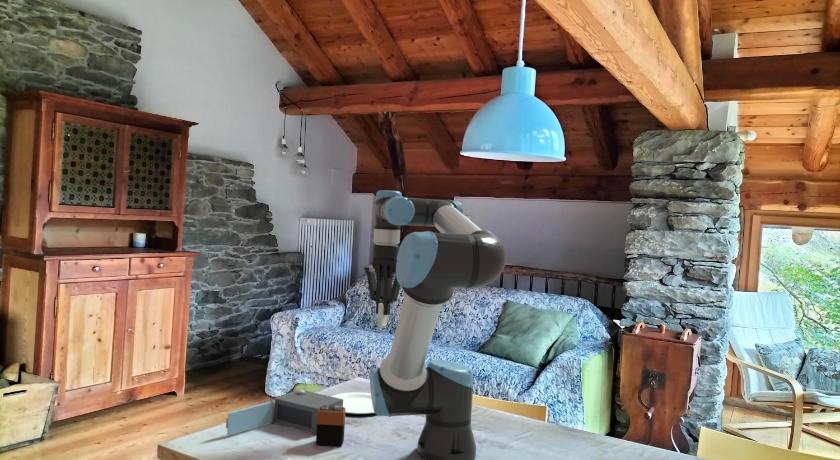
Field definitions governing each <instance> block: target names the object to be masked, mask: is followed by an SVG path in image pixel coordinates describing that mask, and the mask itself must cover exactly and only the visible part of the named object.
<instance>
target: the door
mask: <svg viewBox="0 0 840 460" xmlns="http://www.w3.org/2000/svg"><path fill="white" fill-rule="evenodd" d="M274 413H275V400H274V399H271V400H270V401H268V402H264V403H260V404H257V405H252V406H249V407H245V408H242V409H238V410H234V411H230V412H228V413H227V418H226V419H225V420H226V421H225V428H226V429H227V430H226V431H227V433H226V435H227V436H229V437H230V436H232V435H236V434H238V433H241V432H245V431H248V430H252V429H254V428H258V427H261V426H265V425H268V424H275V423H274Z"/></svg>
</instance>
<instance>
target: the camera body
mask: <svg viewBox="0 0 840 460" xmlns="http://www.w3.org/2000/svg"><path fill="white" fill-rule="evenodd" d="M331 396H332V395H331ZM331 396H330V395H326V394H322V393H318V392H314V391H308V390H304V389H299V388H298V389H295V390H292V391H290V392H287V393H284V394H282V395H279V396H276V397H273V400H275V413H274V423H273V424H276V425H279V426H284V427H286V428H291V429H295V430H299V431H303V432H305V433H310V434H313V435H316V432H317V413H318V410H319V408H320V407H321V406H322V405H328V406H329V407H334V406H335V405H342V407H343V399H340V398H335V397H331Z"/></svg>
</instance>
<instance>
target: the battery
mask: <svg viewBox="0 0 840 460" xmlns="http://www.w3.org/2000/svg"><path fill="white" fill-rule="evenodd" d="M345 422H346V413H345V408H344V407H342V405H335V406H334V407H329V406H328V405H322V406H321V407H320V408H319V410H318V413H317V432H316V434H315V435H316V436H315V445H316V446H320V447H323V446H324V447H336V448H337V447H339V448H341V447H342V446H343V444H344V442H345V441H344V440H345V427H346V426H345V424H346V423H345Z"/></svg>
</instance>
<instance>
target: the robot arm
mask: <svg viewBox="0 0 840 460" xmlns="http://www.w3.org/2000/svg"><path fill="white" fill-rule="evenodd" d="M375 195H376V196H375V201H374V204H375V207H374V210H375V211H374V225H373V227H374V229H373V243H375V244H374V245H372V247H373V248H372V258H373V259H372V261H371V264H370V265H368V266H365V267H364V268H363V270H364V271H365V274H366V277H367V284H368V292H369V298H370V300H371V301H374V302H375V313H376V314H377V327H379V328H380V327H381V328H382V327H386V326H387V325H388V316H389V315H390V312H391V304H393V303H395V302H397V301H398V297H399V294H400V289H402V291H403V293H404V296H403V301H402V305H401V308H400V312H399V316H398V321H397V324H396V328H395V332H394V336H393V340H392V344H391V347H390V352H389V355H387V356H385V358H384V359H382V361H381V363H380V366H379V367H378V366H377V367H372V369H370V373H369V375H370V376H369V385H370V387H369V388H370V393H371V399H372V405H373V410H374V412H375V413H374V414H375V415H377V416H379V417H389V418H390V417H400V416H418V415H419V416H422V415H425V422H424V425H423V427H422V430H421V433H420V435H419V438H418V440H417V446H416V449H417V450H416V451H417V455H418V456H419V457H421V458H422V459H424V460H474V459H476V457H477V444H476V440H475V436H474V433H473V429H472V410H473V409H472V408H473V395H474V393H473V392H474V387H475V385H474V373H473V370H472V369H471V368H470V367H468V366H467V365H465V364H462V363H458V362H455V361H450V360H445V359H431V360H430V361H429V362H428V364H427V367H426V366H425V363H426V359H427V355H428V352H429V349H430V346H431V343H432V340H433V336H434V334H435V333H434V332H435V330H436V326H437V322H438V321H439V318H440V317H439V316H440V313H441V310H442V307H443V305H444V304H446V303H448V302H449V301H450V300H451V299H452V297H453V295H454V293H455V292H454V291H455V289H479V288H483V287H486V286H488V285H491V284H492V283H493V282H495V281H496V280H497V279H498V278H499V277H500V276H501V274H502V273H503V271H504V269H505V266H506V263H507V250H506V248H505V245H504V243H503V242H502V240H501V239H500V238H498V237H497V236H496V235H495V234H494V233H493V232H491V231H489V230H486V229H485V230H484V229H481V228H480V227H479V226H478V225H476V224H475V223H474V222H473V221H471V219H469V218H468V217H467V216H466V215H465V209H464V207H463V204H462V203H461V202H460V201H457V200H451V199H433V198H431V199H429V198H417V197H416V198H415V197H405V196H403V195H402V192H401V191H398V190H387V189H385V190H384V189H383V190H382V189H380V190H378V191H377V192H376V194H375ZM401 226H413V227H414V226H415V227H416V226H418V227H432V228H433V227H434V228H435V229H437V230H438V231H439V232H433V231H430V230H425V231H413V232H411V233H408V234H407V235H406V236H405V237H404V238H403V240H402V241H401V243H400V239H401ZM398 244H400V245H398ZM394 274H395V276H394ZM393 279H394V281H393Z"/></svg>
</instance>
